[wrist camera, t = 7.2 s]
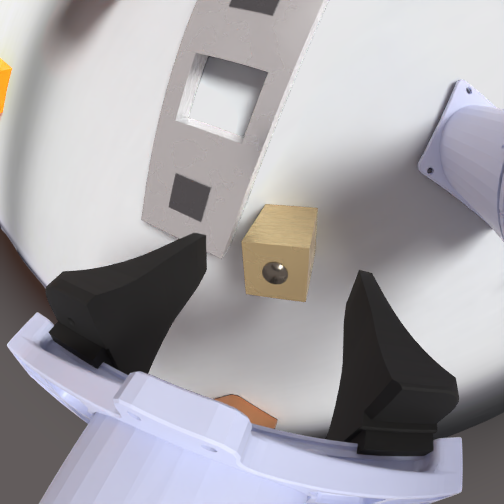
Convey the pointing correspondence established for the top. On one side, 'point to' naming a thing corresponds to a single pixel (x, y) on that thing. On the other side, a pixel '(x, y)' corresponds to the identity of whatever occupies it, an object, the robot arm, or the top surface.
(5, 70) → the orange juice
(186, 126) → the rail
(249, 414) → the whiskey bottle
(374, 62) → the top surface
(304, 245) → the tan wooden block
